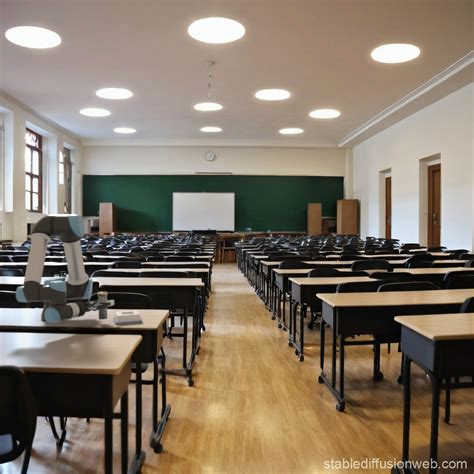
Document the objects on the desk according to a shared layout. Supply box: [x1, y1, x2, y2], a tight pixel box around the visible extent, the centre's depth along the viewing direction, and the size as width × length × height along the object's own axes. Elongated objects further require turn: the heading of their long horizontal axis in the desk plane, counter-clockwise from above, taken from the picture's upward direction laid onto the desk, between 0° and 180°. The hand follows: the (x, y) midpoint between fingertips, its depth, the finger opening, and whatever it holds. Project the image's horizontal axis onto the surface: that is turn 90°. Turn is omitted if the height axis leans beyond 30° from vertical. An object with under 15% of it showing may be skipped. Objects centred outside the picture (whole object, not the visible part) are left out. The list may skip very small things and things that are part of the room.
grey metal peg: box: [96, 291, 109, 320], centre depth 235 cm, size 5×5×14 cm
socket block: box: [113, 309, 143, 326], centre depth 242 cm, size 14×14×4 cm
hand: (110, 301), depth 240 cm, fingers closed on grey metal peg, 4 cm apart
